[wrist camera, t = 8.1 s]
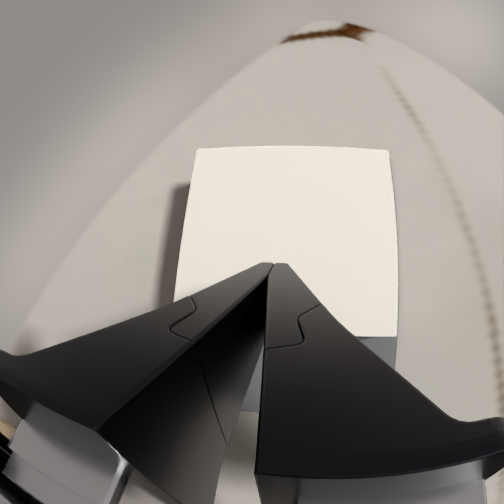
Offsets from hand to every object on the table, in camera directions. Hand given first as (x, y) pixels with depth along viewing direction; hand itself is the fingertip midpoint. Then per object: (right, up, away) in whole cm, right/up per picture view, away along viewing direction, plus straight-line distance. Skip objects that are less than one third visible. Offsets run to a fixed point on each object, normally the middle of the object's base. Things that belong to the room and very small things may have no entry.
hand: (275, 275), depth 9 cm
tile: (+1, -3, +4) cm, 5 cm away
